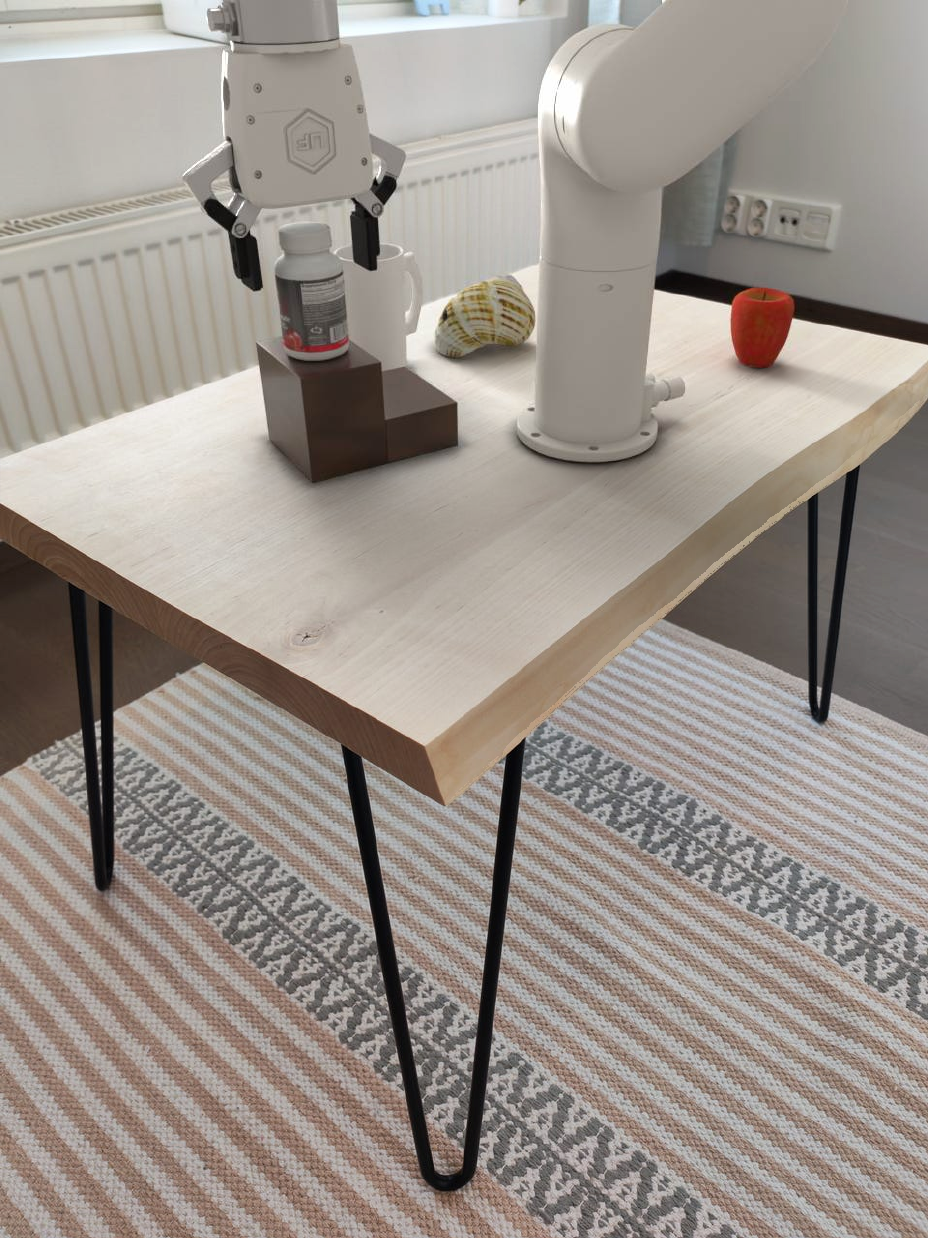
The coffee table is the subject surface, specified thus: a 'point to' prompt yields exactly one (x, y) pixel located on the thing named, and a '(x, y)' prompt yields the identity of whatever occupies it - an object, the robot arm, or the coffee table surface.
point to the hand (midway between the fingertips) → (310, 276)
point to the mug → (381, 303)
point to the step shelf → (350, 411)
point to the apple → (760, 325)
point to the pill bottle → (311, 293)
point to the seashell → (485, 317)
